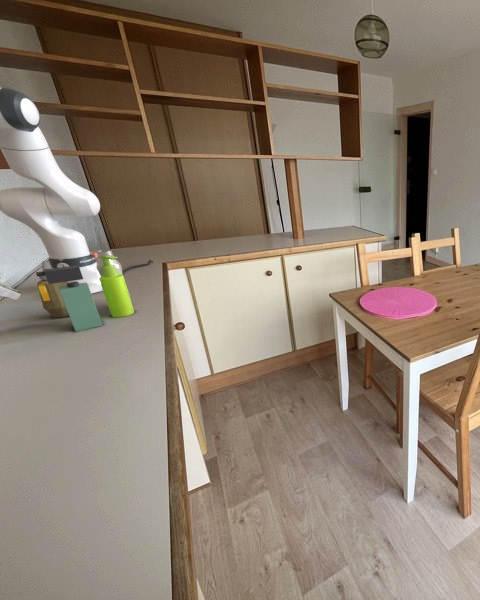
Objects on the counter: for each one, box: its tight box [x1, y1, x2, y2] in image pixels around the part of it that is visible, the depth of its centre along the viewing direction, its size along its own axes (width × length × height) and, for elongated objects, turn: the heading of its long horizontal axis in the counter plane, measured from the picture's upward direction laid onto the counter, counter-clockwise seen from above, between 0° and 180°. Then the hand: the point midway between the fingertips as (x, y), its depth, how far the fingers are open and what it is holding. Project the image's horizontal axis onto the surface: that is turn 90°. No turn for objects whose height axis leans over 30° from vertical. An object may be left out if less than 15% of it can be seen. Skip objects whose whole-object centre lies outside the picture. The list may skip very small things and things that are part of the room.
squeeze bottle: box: [36, 260, 70, 318], centre depth 100 cm, size 8×8×18 cm
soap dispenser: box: [97, 255, 135, 318], centre depth 102 cm, size 6×7×20 cm
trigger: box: [37, 284, 50, 301], centre depth 88 cm, size 1×3×4 cm, turn 47°
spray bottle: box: [35, 265, 103, 332], centre depth 92 cm, size 9×5×19 cm, turn 137°
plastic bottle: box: [96, 249, 133, 303], centre depth 108 cm, size 6×7×20 cm
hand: (19, 296), depth 85 cm, fingers closed
